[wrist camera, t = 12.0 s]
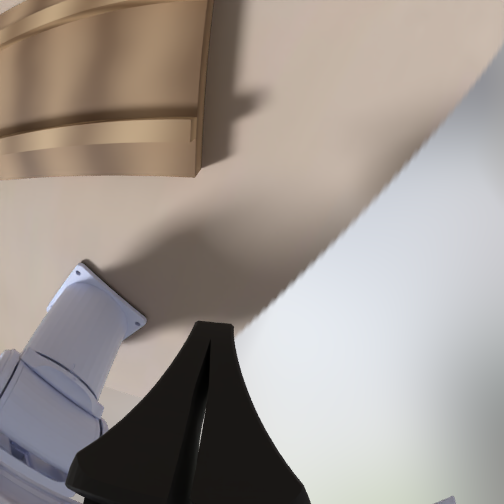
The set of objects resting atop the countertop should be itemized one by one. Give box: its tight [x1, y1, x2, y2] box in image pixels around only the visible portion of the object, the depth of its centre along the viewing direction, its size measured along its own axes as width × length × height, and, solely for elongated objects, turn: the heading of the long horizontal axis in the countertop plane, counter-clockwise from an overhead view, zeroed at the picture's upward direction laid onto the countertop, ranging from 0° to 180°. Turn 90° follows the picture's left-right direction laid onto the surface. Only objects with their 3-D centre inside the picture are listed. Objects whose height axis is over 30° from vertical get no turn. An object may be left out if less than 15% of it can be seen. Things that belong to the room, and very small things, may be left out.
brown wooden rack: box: [0, 0, 214, 180], centre depth 12 cm, size 24×14×4 cm, turn 85°
